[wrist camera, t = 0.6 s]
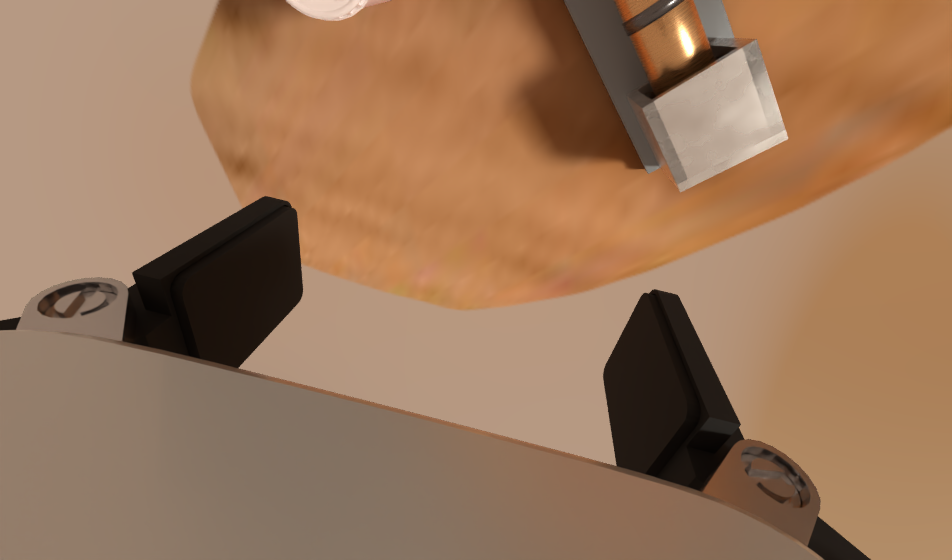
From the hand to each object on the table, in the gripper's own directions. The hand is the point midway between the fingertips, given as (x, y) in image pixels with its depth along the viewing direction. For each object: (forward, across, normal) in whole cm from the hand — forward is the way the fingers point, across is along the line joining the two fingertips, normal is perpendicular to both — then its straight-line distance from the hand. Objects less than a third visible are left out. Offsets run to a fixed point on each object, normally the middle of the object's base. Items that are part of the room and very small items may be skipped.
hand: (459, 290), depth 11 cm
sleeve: (+24, -12, -3) cm, 27 cm away
